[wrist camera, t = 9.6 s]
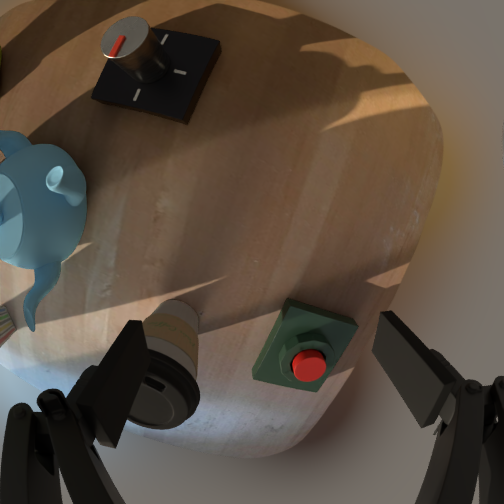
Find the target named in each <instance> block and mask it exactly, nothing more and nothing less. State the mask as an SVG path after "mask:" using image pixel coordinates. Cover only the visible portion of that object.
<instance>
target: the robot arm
mask: <svg viewBox="0 0 504 504" xmlns="http://www.w3.org/2000/svg"><path fill="white" fill-rule="evenodd" d="M372 352H373V354H374V355H375V357H376V358H377V360H378V361H379V363H380V364H381V366H382V367H383V369H384V370H385V372H386V373H387V375H388V376H389V378H390V380H391V381H392V382H393V384H394V386H395V387H396V389H397V390H398V392H399V394H400V395H401V397H402V398H403V400H404V401H405V403H406V405H407V406H408V408H409V409H410V411H411V412H412V414H413V416H414V417H415V419H416V421H417V422H418V424H419V425H420V427H421V428H423V427H426V426H429V425H431V424H434V422H435V421H436V419H437V417H438V415H440V417H441V418H442V420H441V422H440V424H439V425H438V427H437V429H436V430H435V432H434V434H433V435H435V434H436V433H437V431H438V433H437V438H436V441H435V445H434V449H433V452H432V456H431V460H430V463H429V466H428V469H427V472H426V475H425V478H424V481H423V484H422V487H421V489H420V492H419V495H418V497H417V500H416V502H415V504H472V500H473V496H474V492H475V487H476V482H477V477H478V475H479V504H504V376H498V377H497V378H496V379H495V380H494V383H493V384H492V385H490V386H489V385H488V386H482V385H481V384H480V383H479V382H478V381H475V380H470V379H468V380H465V379H464V378H463V377H462V376H461V375H460V374H459V373H458V371H457V370H456V369H455V368H454V367H453V366H452V365H450V363H449V362H448V361H447V360H446V359H445V358H444V357H443V355H442V354H440V353H439V352H437V351H436V350H434V349H430V350H429V349H428V348H427V347H426V346H425V345H424V343H422V341H421V340H420V339H419V338H418V337H417V336H416V335H415V334H414V333H413V332H412V331H411V330H410V329H409V328H408V327H407V326H406V325H405V324H404V323H403V322H402V321H401V320H400V319H399V318H398V316H396V315H395V313H393V312H392V311H384V312H380V317H379V322H378V326H377V331H376V336H375V340H374V345H373V349H372ZM150 362H151V359H150V355H149V351H148V347H147V342H146V338H145V334H144V329H143V324H142V321H141V320H129V321H128V322H127V324H126V325H125V327H124V328H123V329H122V331H121V332H120V334H119V335H118V337H117V338H116V340H115V341H114V343H113V344H112V346H111V347H110V349H109V350H108V352H107V353H106V355H105V356H104V358H103V359H102V361H101V362H100V364H99V366H94V365H91V366H90V367H88V368H87V369H86V370H84V372H83V373H82V375H81V376H80V377H79V379H78V380H77V382H76V385H74V386H73V388H72V390H71V391H70V393H69V394H68V396H67V397H66V398H65V396H64V394H63V392H62V391H60V390H58V389H48V390H45V391H43V392H42V393H41V394H40V395H39V396H38V398H37V405H38V406H39V408H40V409H41V411H42V412H33V410H32V409H31V407H30V406H29V405H28V404H26V403H18V404H16V405H14V406H13V407H12V408H11V409H10V411H9V414H8V418H7V424H6V430H5V436H4V443H3V452H2V462H1V476H0V504H63V503H62V495H61V487H60V478H59V468H60V471H61V474H62V477H63V479H64V482H65V485H66V487H67V490H68V492H69V495H70V497H71V499H72V502H73V504H126V503H125V502H124V500H123V499H122V497H121V495H120V494H119V492H118V490H117V488H116V487H115V485H114V483H113V482H112V480H111V478H110V476H109V474H108V472H107V470H106V468H105V467H104V465H103V462H102V460H101V458H100V456H99V454H98V452H97V450H96V448H95V446H94V445H93V442H94V440H95V437H96V439H97V440H98V442H99V443H100V445H103V446H107V447H111V448H116V447H117V444H118V441H119V439H120V436H121V433H122V431H123V428H124V425H125V423H126V420H127V418H128V415H129V413H130V410H131V408H132V405H133V403H134V400H135V398H136V395H137V393H138V390H139V388H140V386H141V383H142V381H143V378H144V376H145V374H146V371H147V369H148V367H149V364H150ZM497 416H498V422H497V421H496V418H497Z"/></svg>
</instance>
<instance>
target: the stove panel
mask: <svg viewBox="0 0 504 504" xmlns="http://www.w3.org/2000/svg"><path fill="white" fill-rule="evenodd" d="M151 29H152V31H153V32H154V34H155V35H156V37H157V39H158V40H159V42H160V43H161V45H162V46H163V48H164V49H165V51H166V52H167V54H168V56H169V58H170V66H169V69H168V71H167V72H166V74H165V75H164V76H163V77H162V78H161V79H159V80H157V81H155V82H153V83H148V84H143V83H139V82H137V81H136V80H135V79H134V78H132V77H131V76H130V75H129V74H128V73H126V72H125V71H124V70H123V69H121V68H120V67H119V66H118V65H116V64H115V63H114V62H113V61H112V60H110V59H109V58H108V60H107V62H106V64H105V67H104V69H103V71H102V73H101V75H100V77H99V79H98V82H97V84H96V86H95V88H94V91H93V93H92V96H91V99H93V100H96V101H98V102H100V103H103V104H108V105H113V106H117V107H122V108H126V109H130V110H135V111H139V112H143V113H147V114H150V115H154V116H158V117H162V118H165V119H169V120H172V121H176V122H179V123H183V124H186V125H188V123H189V121H190V118H191V116H192V114H193V111H194V109H195V107H196V104H197V102H198V100H199V98H200V95H201V93H202V91H203V89H204V86H205V84H206V82H207V80H208V78H209V76H210V74H211V72H212V70H213V67H214V65H215V63H216V61H217V59H218V57H219V55H220V53H221V45H220V41H219V40H215V39H210V38H206V37H202V36H197V35H192V34H187V33H181V32H176V31H169V30H163V29H155V28H151Z"/></svg>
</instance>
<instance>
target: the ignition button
mask: <svg viewBox="0 0 504 504" xmlns="http://www.w3.org/2000/svg"><path fill="white" fill-rule="evenodd" d="M292 367H293V371H294V374H295V376H296V378H297V379H299V380H301V381H305V382H309V381H314V380H316V379H318V378H320V377H321V376H322V375H323V374H324V372H325V370H326V363H325V360H324V358H323V355H322V354H321V353H320V352H319V351H317V350H314V349H307V350H304V351H301V352H300V353H298V354H297V355H296V356H295V357H294V359H293V361H292Z"/></svg>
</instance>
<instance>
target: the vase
mask: <svg viewBox="0 0 504 504" xmlns="http://www.w3.org/2000/svg"><path fill="white" fill-rule="evenodd" d="M15 331H17V330H16V328H15V326H14V324H13V322H12V320H11V318H10V315H9V313H8V312H7V309H6V307H5V306H4V307H0V347H1V346H2V345H3V344H4V343H5V342H6V341H7V340H8V339H9V338H10V337H11V335H12V334H13V333H14V332H15Z"/></svg>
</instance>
